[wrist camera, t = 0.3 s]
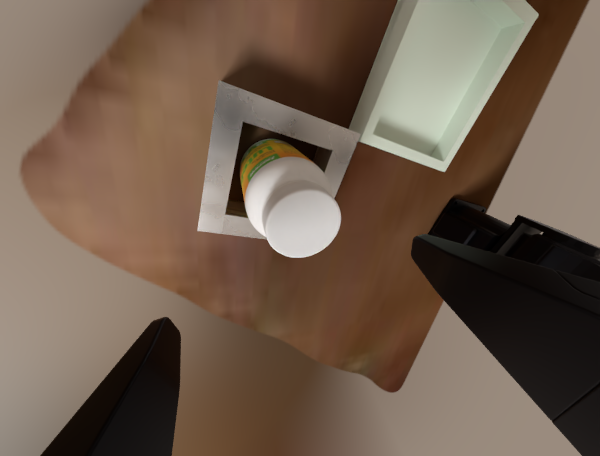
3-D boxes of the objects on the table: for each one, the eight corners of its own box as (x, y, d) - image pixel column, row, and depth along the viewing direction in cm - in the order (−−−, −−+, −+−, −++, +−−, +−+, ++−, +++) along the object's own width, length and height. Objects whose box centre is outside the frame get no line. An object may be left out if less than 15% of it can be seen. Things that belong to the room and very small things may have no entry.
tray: (503, 23, 18) (538, 14, 16) (425, 165, 23) (444, 172, 21) (418, -54, 14) (450, -78, 12) (345, 136, 19) (359, 141, 17)
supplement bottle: (258, 123, 17) (287, 150, 9) (313, 158, 20) (373, 203, 12) (227, 183, 19) (230, 251, 11) (282, 209, 21) (316, 278, 13)
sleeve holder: (342, 128, 19) (360, 133, 17) (305, 229, 23) (315, 245, 21) (219, 82, 15) (218, 80, 13) (201, 213, 19) (197, 230, 17)
